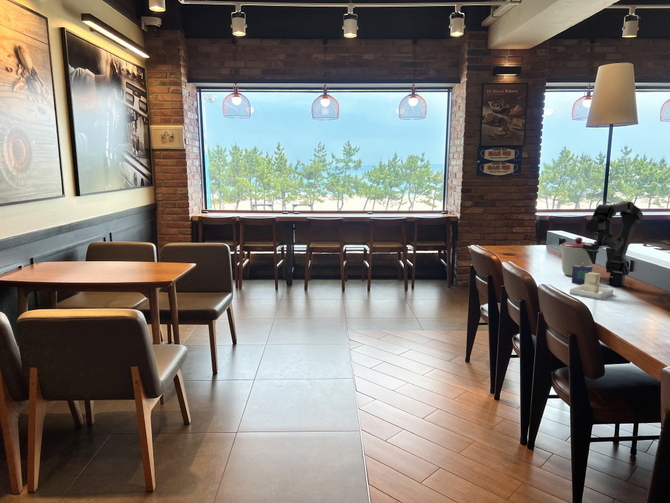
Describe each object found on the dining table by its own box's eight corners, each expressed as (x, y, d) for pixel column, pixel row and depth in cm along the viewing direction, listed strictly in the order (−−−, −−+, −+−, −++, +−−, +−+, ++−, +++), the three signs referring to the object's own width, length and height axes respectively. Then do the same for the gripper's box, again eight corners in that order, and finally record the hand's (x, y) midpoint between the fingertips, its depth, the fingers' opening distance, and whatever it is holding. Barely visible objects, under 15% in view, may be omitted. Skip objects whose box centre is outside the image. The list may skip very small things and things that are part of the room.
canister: (595, 273, 263) (598, 236, 259) (594, 280, 247) (597, 240, 244) (559, 270, 272) (562, 234, 268) (556, 276, 257) (558, 238, 253)
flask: (590, 282, 242) (591, 262, 240) (592, 284, 239) (593, 263, 237) (570, 282, 244) (572, 262, 242) (572, 283, 241) (573, 263, 239)
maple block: (588, 290, 223) (589, 272, 221) (598, 292, 219) (600, 273, 217) (583, 292, 220) (585, 273, 218) (593, 294, 216) (595, 275, 215)
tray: (583, 289, 229) (583, 284, 228) (612, 294, 218) (613, 289, 218) (569, 293, 221) (570, 288, 220) (599, 299, 210) (599, 294, 210)
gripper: (602, 234, 212) (599, 268, 215) (634, 232, 217) (631, 265, 220) (582, 231, 223) (580, 263, 225) (613, 229, 228) (611, 261, 231)
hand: (601, 263), depth 225 cm, fingers open, 9 cm apart
